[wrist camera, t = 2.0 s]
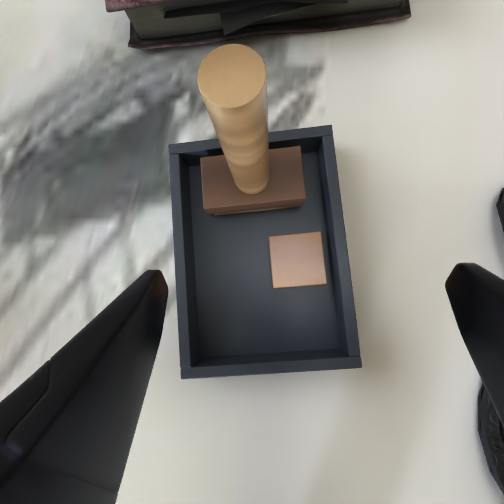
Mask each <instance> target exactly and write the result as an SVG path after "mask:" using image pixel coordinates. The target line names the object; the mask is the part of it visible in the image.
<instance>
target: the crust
mask: <svg viewBox="0 0 504 504" xmlns="http://www.w3.org/2000/svg"><path fill="white" fill-rule="evenodd" d="M269 248H270V258H271V269H272V280H273V288H286V287H298V286H309V285H321V284H327V281H326V272H325V263H324V255H323V246H322V237H321V232H309V233H299V234H289V235H278V236H269Z"/></svg>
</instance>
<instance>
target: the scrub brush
mask: <svg viewBox="0 0 504 504" xmlns="http://www.w3.org/2000/svg"><path fill="white" fill-rule="evenodd" d="M197 82H198V87H199V90H200V93H201V95H202V98H203V100H204V103H205V106H206V108H207V111H208V113H209V116H210V119H211V121H212V124H213V127H214V129H215V132H216V134H217V137H218V140H219V142H220V145H221V147H222V150H223V153H224V155H218V156H209V157H201V158H200V163H201V178H202V193H203V208H204V210H205V211H206V212H207V213H208V214H209V215H212V214H214V215H215V216H216V215H226V214H236V213H245V212H255V211H265V210H274V209H284V208H294V207H299V206H300V205H303V204H304V202H305V199H306V191H305V182H304V173H303V164H302V156H301V147H300V146H294V147H286V148H277V149H269V139H268V106H267V74H266V67H265V63H264V61H263V59H262V58H261V56H260V55H259V54H258V53H257V52H256V51H255V50H253V49H252V48H250V47H248V46H245V45H242V44H226V45H223V46H220V47H218V48H216V49H214V50H212V51H211V52H210V53H209V54H208V55H207V56H206V57H205V58H204V59H203V61H202V63H201V65H200V67H199V70H198V76H197Z"/></svg>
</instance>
